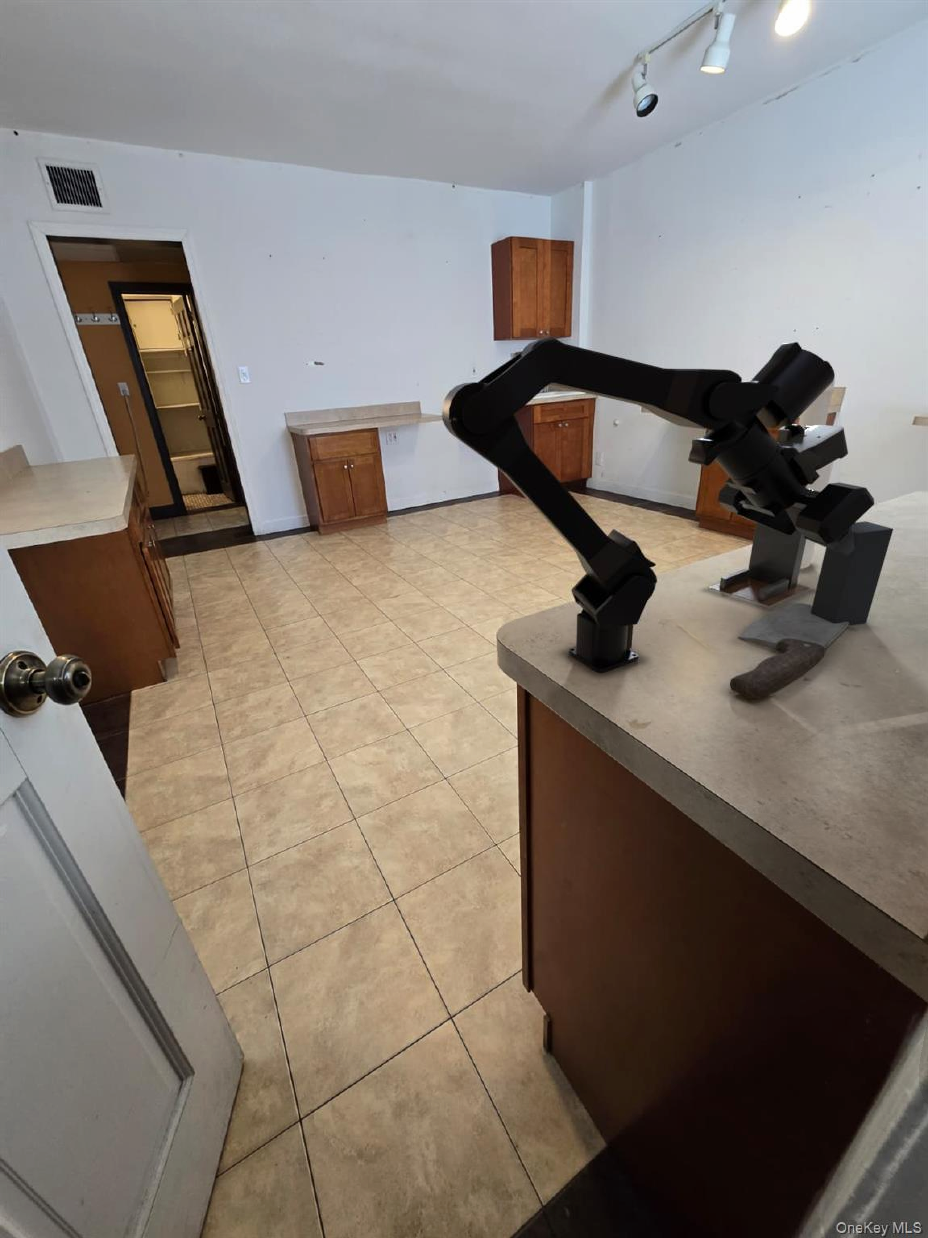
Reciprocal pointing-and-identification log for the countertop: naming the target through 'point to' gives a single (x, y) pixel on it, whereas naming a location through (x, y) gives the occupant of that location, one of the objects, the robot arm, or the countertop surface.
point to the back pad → (852, 576)
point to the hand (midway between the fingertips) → (819, 541)
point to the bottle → (818, 416)
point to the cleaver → (785, 648)
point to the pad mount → (769, 566)
